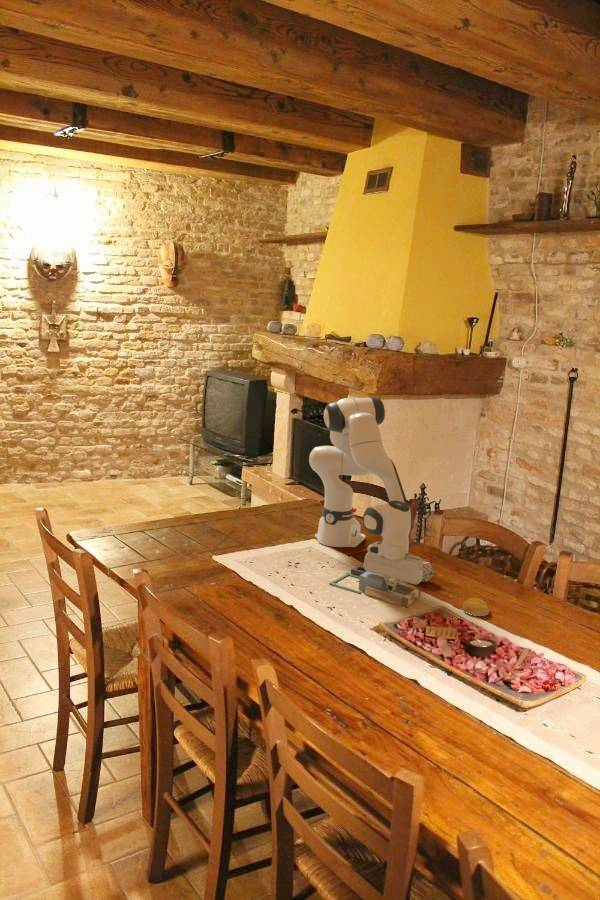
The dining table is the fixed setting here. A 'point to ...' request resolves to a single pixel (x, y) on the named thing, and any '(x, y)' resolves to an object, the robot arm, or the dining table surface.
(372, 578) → the block
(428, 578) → the game die
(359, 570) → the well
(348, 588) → the frame
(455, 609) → the dining table surface
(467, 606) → the bread roll
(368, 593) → the beige c-shaped frame
